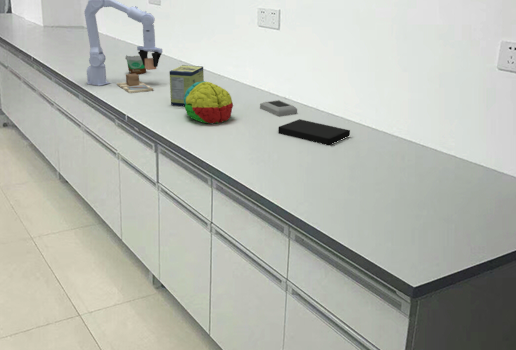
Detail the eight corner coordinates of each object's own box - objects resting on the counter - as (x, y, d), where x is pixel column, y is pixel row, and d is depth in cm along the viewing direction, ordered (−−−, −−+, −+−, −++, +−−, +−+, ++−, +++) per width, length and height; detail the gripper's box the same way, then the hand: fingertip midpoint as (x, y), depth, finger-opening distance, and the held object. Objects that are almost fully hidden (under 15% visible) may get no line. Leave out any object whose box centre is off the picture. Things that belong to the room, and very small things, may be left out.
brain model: (173, 113, 255) (173, 78, 249) (212, 107, 265) (212, 73, 259) (200, 129, 237) (200, 92, 231) (241, 122, 247) (242, 87, 241)
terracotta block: (144, 68, 306) (144, 58, 304) (153, 67, 308) (152, 57, 306) (148, 69, 302) (147, 60, 301) (156, 69, 304) (155, 59, 303)
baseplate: (117, 85, 305) (116, 73, 303) (139, 82, 311) (139, 71, 309) (129, 93, 289) (128, 80, 287) (153, 90, 295) (152, 78, 293)
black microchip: (329, 146, 217) (329, 138, 216) (278, 134, 231) (278, 126, 230) (349, 137, 228) (350, 130, 227) (299, 126, 241) (299, 119, 240)
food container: (127, 75, 328) (125, 57, 324) (126, 73, 333) (125, 55, 330) (149, 74, 331) (148, 56, 327) (148, 72, 336) (147, 54, 333)
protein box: (204, 99, 280) (203, 66, 274) (192, 107, 266) (191, 72, 260) (183, 97, 282) (182, 64, 277) (170, 105, 268) (168, 71, 263)
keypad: (278, 98, 269) (297, 106, 257) (278, 106, 270) (297, 114, 258) (260, 101, 264) (278, 108, 252) (260, 109, 265) (278, 117, 253)
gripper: (132, 38, 300) (134, 65, 305) (155, 41, 293) (156, 68, 298) (141, 36, 306) (143, 63, 310) (164, 39, 299) (165, 66, 304)
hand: (150, 65), depth 305 cm, fingers closed on terracotta block, 6 cm apart
